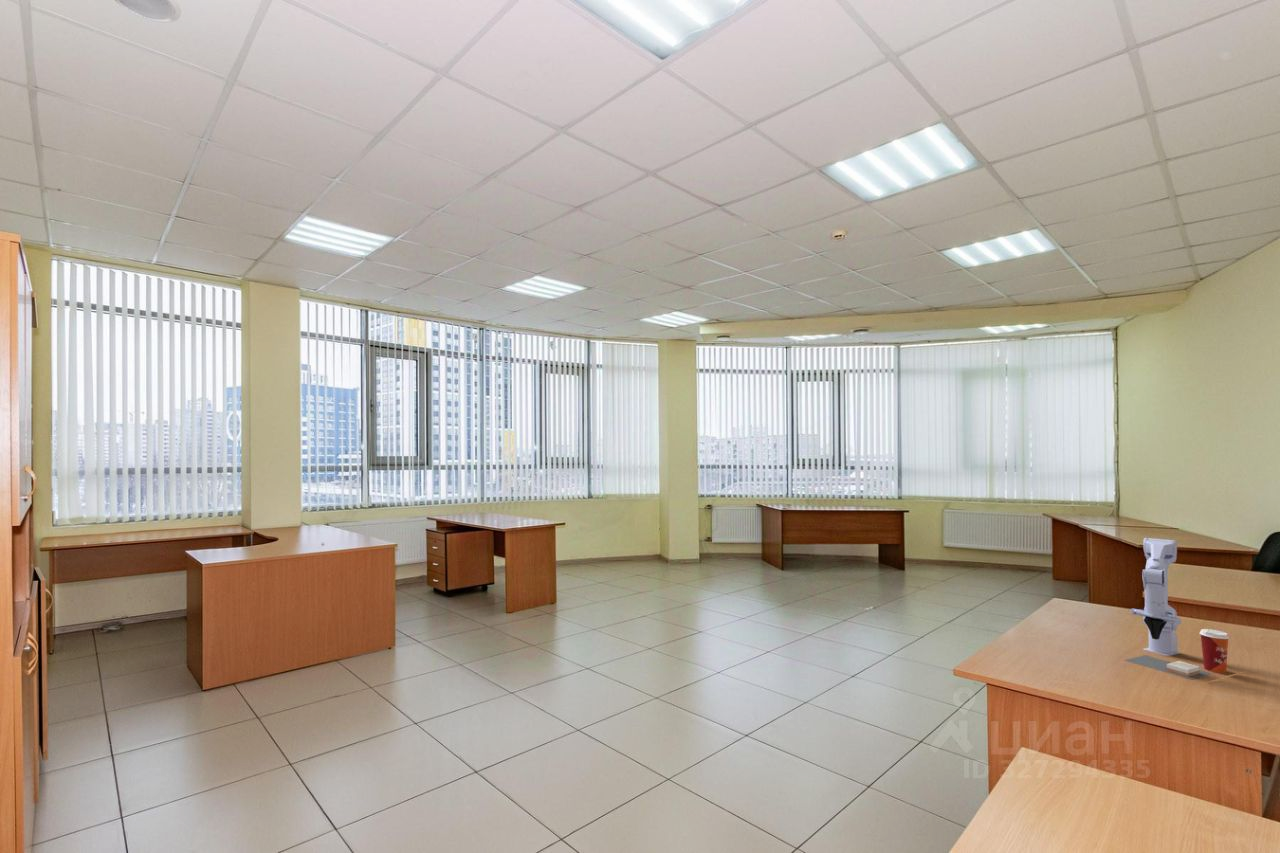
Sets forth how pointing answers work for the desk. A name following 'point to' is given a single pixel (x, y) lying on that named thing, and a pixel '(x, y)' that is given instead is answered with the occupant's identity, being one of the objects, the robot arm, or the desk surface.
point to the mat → (1161, 665)
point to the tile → (1183, 668)
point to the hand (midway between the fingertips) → (1155, 638)
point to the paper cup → (1214, 650)
